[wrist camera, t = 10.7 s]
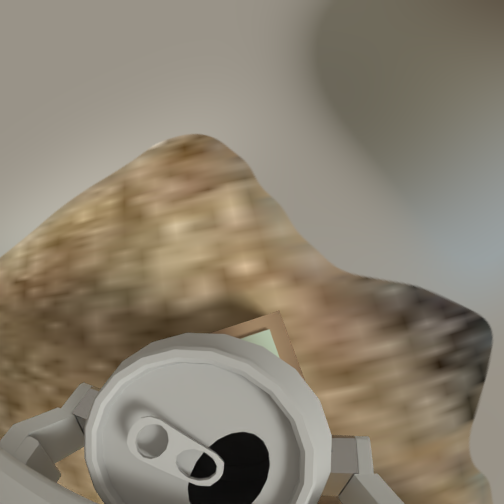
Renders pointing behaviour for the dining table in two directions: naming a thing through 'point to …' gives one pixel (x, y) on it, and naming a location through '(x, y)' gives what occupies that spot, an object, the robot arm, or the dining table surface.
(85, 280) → the dining table surface
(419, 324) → the dining table surface
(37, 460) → the robot arm
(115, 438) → the can
